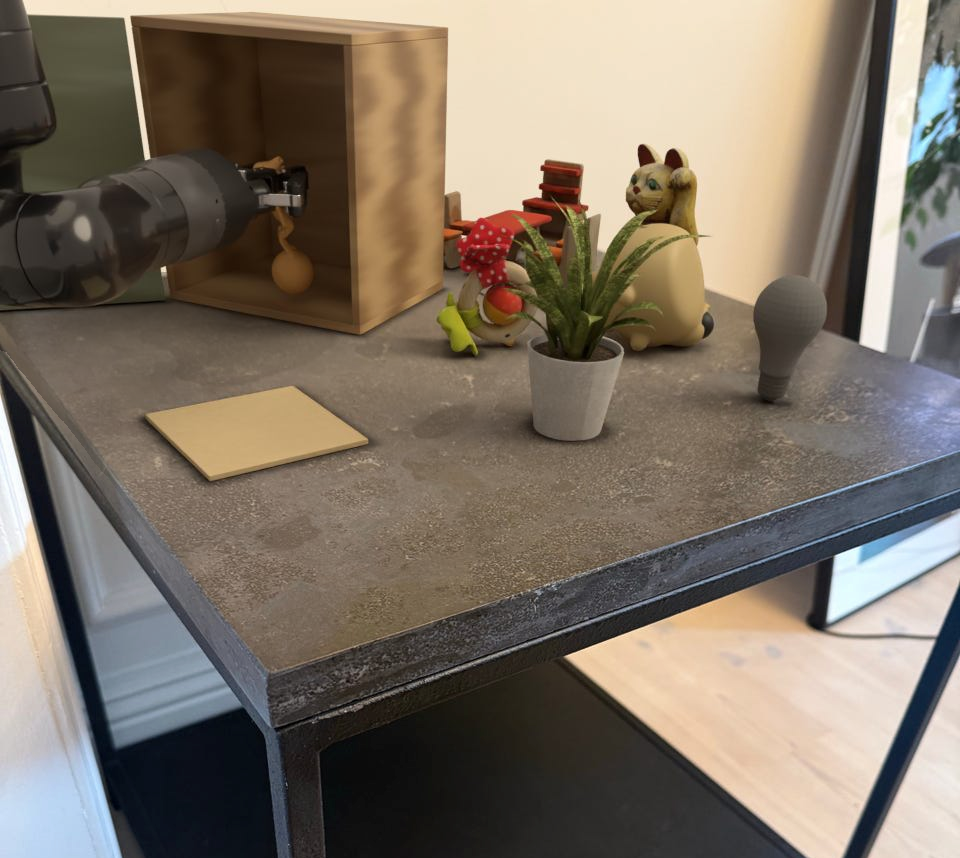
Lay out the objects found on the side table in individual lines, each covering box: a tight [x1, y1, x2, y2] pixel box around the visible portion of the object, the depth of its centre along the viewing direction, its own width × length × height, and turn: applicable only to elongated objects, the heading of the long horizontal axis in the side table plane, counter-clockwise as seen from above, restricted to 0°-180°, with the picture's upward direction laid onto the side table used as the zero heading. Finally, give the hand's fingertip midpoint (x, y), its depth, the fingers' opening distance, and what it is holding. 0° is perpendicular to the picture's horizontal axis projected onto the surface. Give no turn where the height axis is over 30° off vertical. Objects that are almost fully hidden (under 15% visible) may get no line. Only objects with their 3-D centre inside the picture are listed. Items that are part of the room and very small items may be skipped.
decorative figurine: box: [625, 143, 699, 247], centre depth 97 cm, size 10×8×15 cm
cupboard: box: [129, 11, 449, 336], centre depth 91 cm, size 18×22×24 cm
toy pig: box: [592, 223, 715, 352], centre depth 87 cm, size 10×12×11 cm
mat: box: [144, 385, 369, 482], centre depth 69 cm, size 12×12×1 cm
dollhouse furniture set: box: [443, 158, 602, 292], centre depth 109 cm, size 19×19×10 cm
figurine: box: [253, 156, 314, 294], centre depth 88 cm, size 8×6×12 cm
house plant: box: [499, 198, 713, 442], centre depth 68 cm, size 14×14×16 cm
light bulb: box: [752, 274, 828, 402], centre depth 76 cm, size 6×6×10 cm
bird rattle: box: [436, 217, 538, 357], centre depth 84 cm, size 6×11×9 cm
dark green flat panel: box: [0, 13, 166, 311], centre depth 85 cm, size 7×22×23 cm, turn 112°
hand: (284, 175), depth 89 cm, fingers open, 3 cm apart
